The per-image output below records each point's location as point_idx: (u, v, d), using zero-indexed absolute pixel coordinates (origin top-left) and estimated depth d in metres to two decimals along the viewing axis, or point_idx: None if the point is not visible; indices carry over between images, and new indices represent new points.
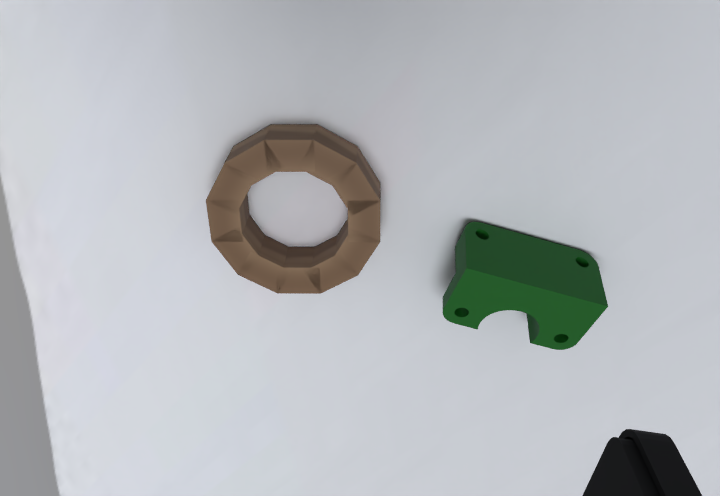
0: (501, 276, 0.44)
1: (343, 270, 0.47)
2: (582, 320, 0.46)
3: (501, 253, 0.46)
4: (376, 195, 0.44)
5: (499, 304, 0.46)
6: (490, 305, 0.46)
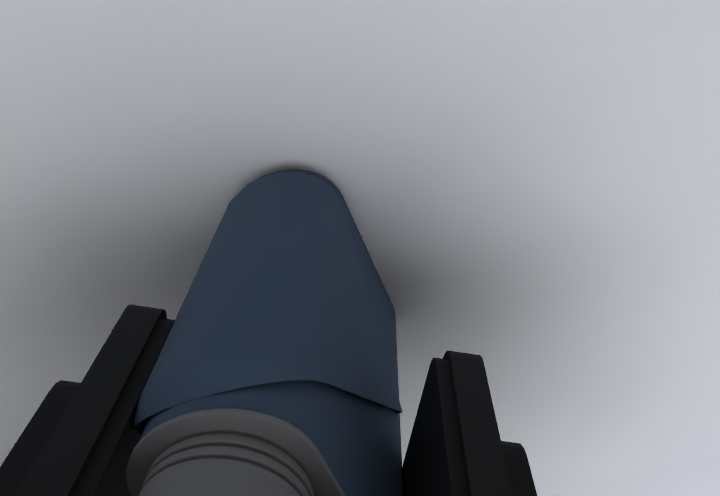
0: None
1: None
2: None
3: None
4: None
5: None
6: None
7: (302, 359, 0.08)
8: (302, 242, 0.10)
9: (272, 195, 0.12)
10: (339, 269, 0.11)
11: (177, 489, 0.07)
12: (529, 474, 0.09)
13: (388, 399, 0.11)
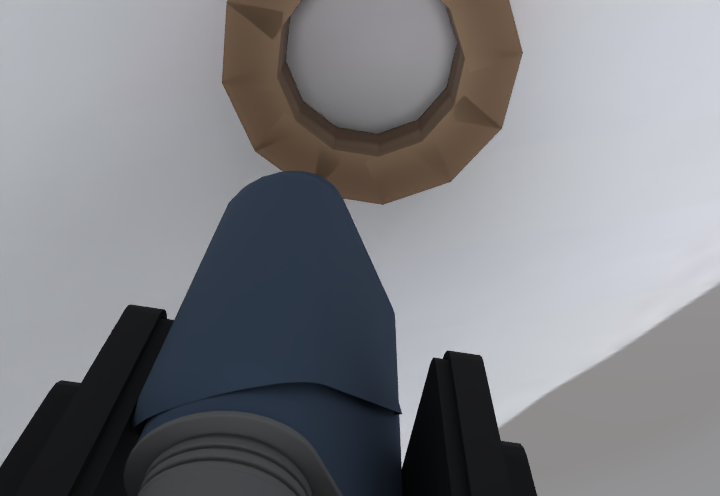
0: None
1: None
2: None
3: None
4: (227, 14, 0.26)
5: None
6: None
7: (301, 361, 0.08)
8: (301, 243, 0.10)
9: (271, 196, 0.12)
10: (338, 270, 0.11)
11: (174, 492, 0.07)
12: (529, 474, 0.09)
13: (387, 401, 0.11)
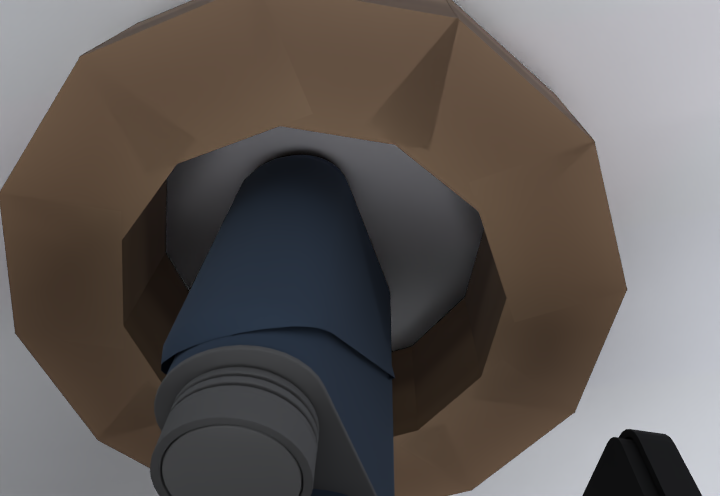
0: None
1: (293, 47, 0.10)
2: None
3: None
4: (4, 215, 0.12)
5: None
6: None
7: (312, 310, 0.09)
8: (312, 215, 0.12)
9: (285, 174, 0.13)
10: (344, 242, 0.12)
11: (205, 407, 0.08)
12: None
13: (383, 363, 0.12)
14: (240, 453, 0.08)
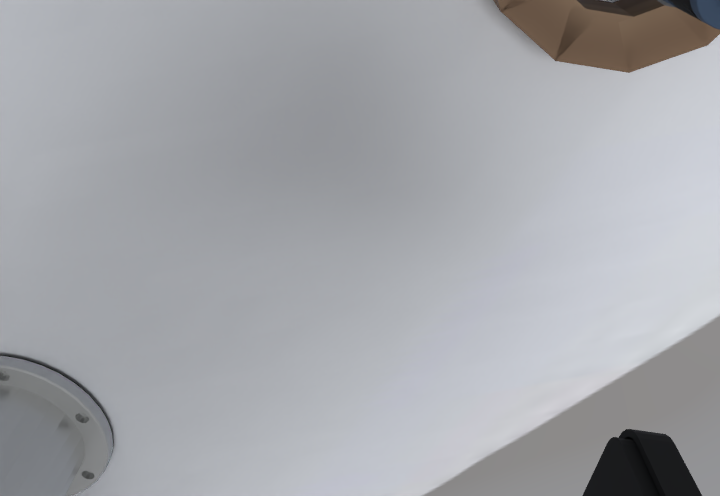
0: None
1: None
2: None
3: None
4: None
5: None
6: None
7: None
8: None
9: None
10: None
11: None
12: None
13: None
14: None
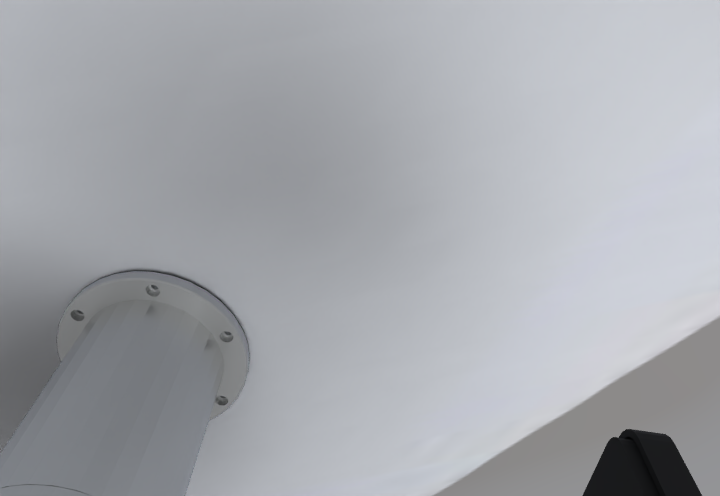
0: None
1: None
2: None
3: None
4: None
5: None
6: None
7: None
8: None
9: None
10: None
11: None
12: None
13: None
14: None
